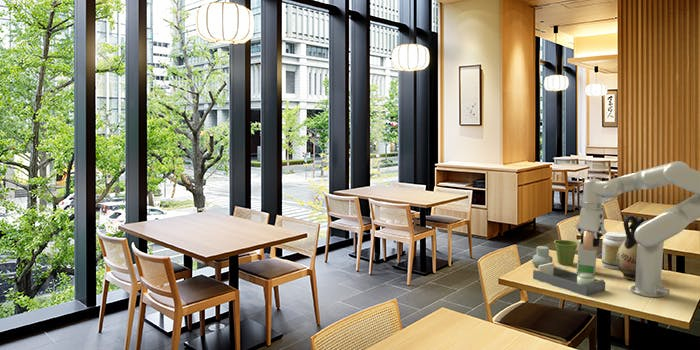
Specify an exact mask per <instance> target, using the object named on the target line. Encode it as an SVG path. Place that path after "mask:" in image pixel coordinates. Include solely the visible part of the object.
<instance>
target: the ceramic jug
mask: <svg viewBox="0 0 700 350" xmlns="http://www.w3.org/2000/svg"><path fill="white" fill-rule="evenodd" d="M629 221H631V223H629ZM644 221H646V219H645V218H642V217H640V218H637V217H635V216H634V215H629V214H628V215H626V216H625V217H624V218H623V223H622V224H623V229H624V231H625V234H626V236H627V237H626V240H625V241H624V242H623V244H622V245H621V246H620V248H619V249H618V252H617V256H616V264H617V267H618V268H619V271H620V272H621V273H622V275H623V277H624V279H628V280H634V281H635V279H636V259H637V245H638V243H637V241H636V240H635V237H634V233H635V230H636V228H637V227H638V226H639V225H640V224H641V223H642V222H644Z"/></svg>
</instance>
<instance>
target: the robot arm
mask: <svg viewBox="0 0 700 350" xmlns="http://www.w3.org/2000/svg"><path fill="white" fill-rule="evenodd" d="M668 185H674V186H677V187H679V188H681V189H684V190H686V191H688V192H690V193H693V195H692V196H690V197H688V198H687V199H685V200H684V201H682V202H679V203H678V204H675V205H673V206H672V207H668V208H667V209H665V210H664V211H663V212H662V213H661V214H658V215H657V216H655V217H653V218H651V219H647V220H645V221H644V222H642V223H641V224H640V225H639V226H638V227H637V228H636V230H635V233H634V237H635V240H636V241H637V243H638V245H637V259H636V279H635V280H634V281H635V282H634V283H635V284H634V285H632V286H631V287H630V291H631V292H632V293H634V294H636V295H639V296H642V297H648V298H660V297H664V296H670V294H671V289H669V288H666V287H664V285H665V284H664V283H662V276H663V275H662V272H663V258H664V257H663V255H664V244H665V241H667V240H669V239H670V238H672V237H675V236H677V235H678V234H680V233H681V232H683V231H684V230H685V229H686V227H687V226H688V225H689V224H691V223H693V222H694V221H696V220H699V219H700V171H699V170H696V169H694V168H691V167H690V166H689V165H688V164H687V163H686V162H684V161H681V160H679V161H678V160H677V161H676V160H675V161H672V162H668V163H665V164H661V165H657V166H654V167H649V168H645V169H642V170H639V171H636V172H634V173H630V174H625V175H622V176H618V177H614V178H611V179H608V180H603V181H602V180H601V179H597V178H586V179H585V180H584V182H583V194H582V195H583V196H582V207H581V209H580V212H579V218H578V222H577V223H576V224H575V226H574V227H575V229H576V230H577V231H578V232H579V235H580V239H581V244H583V235H584V230H589V231H592V232H594V236H595V238H594V239H593V247H597V248H598V247H599V245H600V239H601V238H602V237H603V236H605V233H607V232H608V231H607V230H606V229H605V217H604V216H605V215H604V211H603V208H604V205H603V204H602V200H603V199H602V197H603V198H604V197H605V198H609V199H610V198H611V199H612V198H615V197H617V196H619V195H621V194H626V193H630V192H632V191H638V190H651V189H655V188H659V187H665V186H668Z"/></svg>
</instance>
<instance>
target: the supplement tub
mask: <svg viewBox="0 0 700 350" xmlns="http://www.w3.org/2000/svg"><path fill="white" fill-rule="evenodd" d="M603 236H604V238H603V239H602V240H601V241H602V244H601V245H602V247H601V248H602V249H601V264H602V266H603V267H605V268H607V269H609V270H619V268H618V267H617V264H616V256H617V252H618V249H619V248H620V246H621V245H622V244H623V242H624V241H625V240H626V237H627V236H626V232H625V233H624V232H617V231H607V233H605V234H604V235H603ZM619 271H620V270H619Z"/></svg>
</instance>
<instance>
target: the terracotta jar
mask: <svg viewBox="0 0 700 350" xmlns="http://www.w3.org/2000/svg"><path fill="white" fill-rule="evenodd" d="M594 238H595V236H594V232H592V231H589V230H584V235H583V249H585V250H590V251H595V250H596V247H593V239H594Z"/></svg>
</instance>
